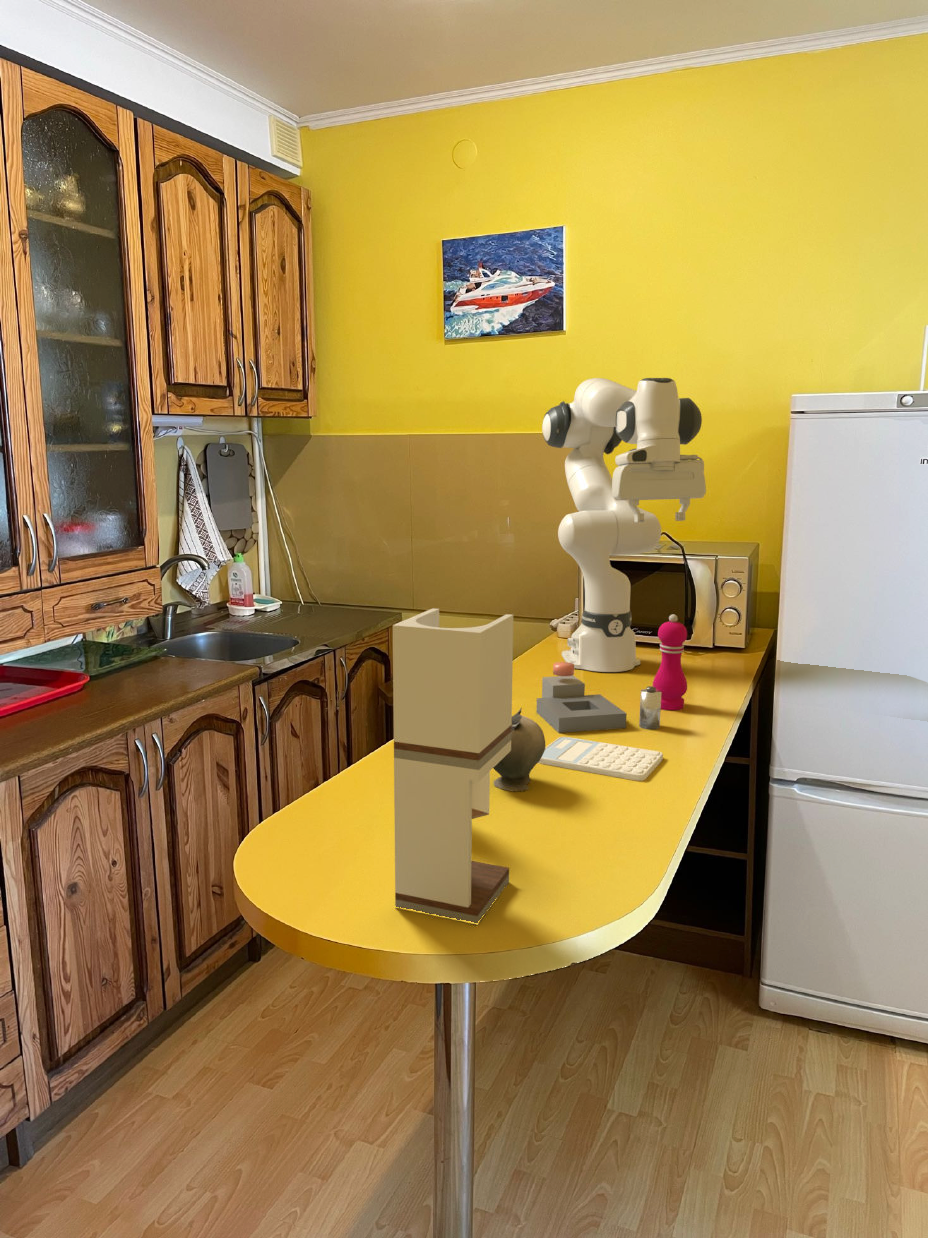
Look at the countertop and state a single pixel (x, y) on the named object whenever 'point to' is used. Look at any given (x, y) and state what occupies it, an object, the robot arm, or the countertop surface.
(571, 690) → the grey stepped block frame
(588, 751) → the calculator
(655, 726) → the cell
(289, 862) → the countertop surface
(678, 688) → the pepper mill
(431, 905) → the beige stacked box tower
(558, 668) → the plunger
